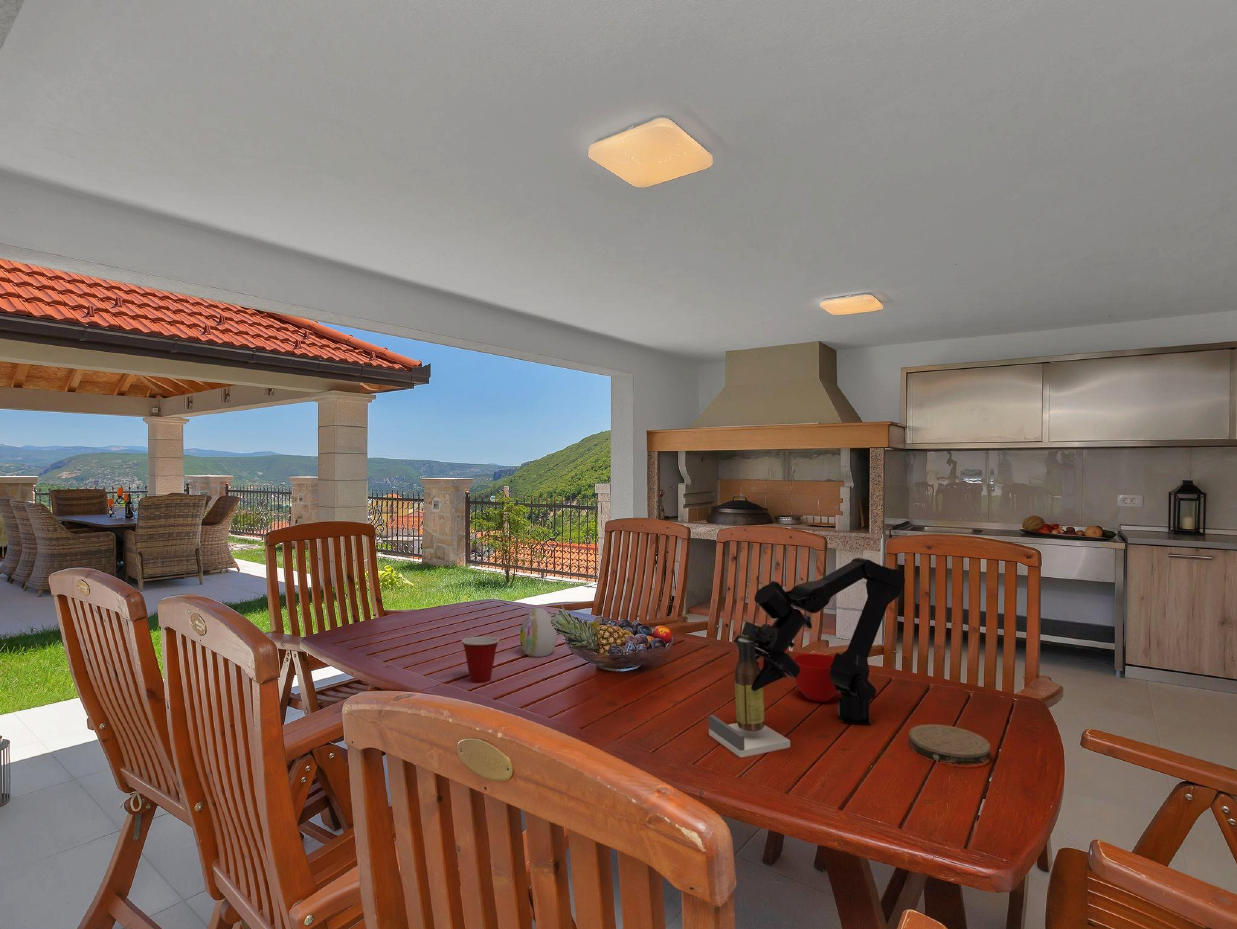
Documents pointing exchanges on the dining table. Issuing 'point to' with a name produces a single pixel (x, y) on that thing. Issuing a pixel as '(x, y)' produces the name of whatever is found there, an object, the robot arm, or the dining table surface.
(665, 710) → the dining table surface
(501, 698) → the dining table surface
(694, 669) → the dining table surface
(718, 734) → the display stand
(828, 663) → the ceramic cup
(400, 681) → the dining table surface
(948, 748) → the grey-brown flat disc
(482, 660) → the plastic cup
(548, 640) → the decorative egg
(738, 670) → the sauce bottle
